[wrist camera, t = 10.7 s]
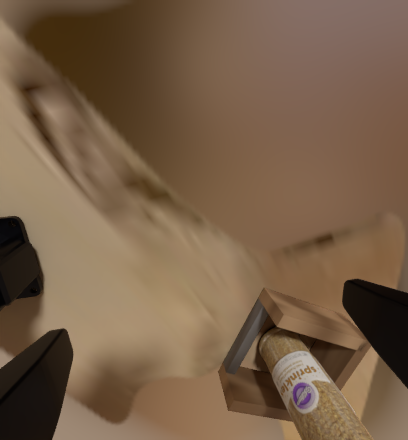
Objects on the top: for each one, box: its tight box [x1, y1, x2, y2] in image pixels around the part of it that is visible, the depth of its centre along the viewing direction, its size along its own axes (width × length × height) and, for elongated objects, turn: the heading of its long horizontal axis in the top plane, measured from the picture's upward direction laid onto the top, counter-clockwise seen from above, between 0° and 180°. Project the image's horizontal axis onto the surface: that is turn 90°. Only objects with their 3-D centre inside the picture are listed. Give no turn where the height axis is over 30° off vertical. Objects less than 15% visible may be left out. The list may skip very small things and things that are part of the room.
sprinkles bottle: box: [259, 327, 373, 440], centre depth 19 cm, size 5×5×14 cm
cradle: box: [218, 288, 371, 422], centre depth 24 cm, size 10×10×4 cm
